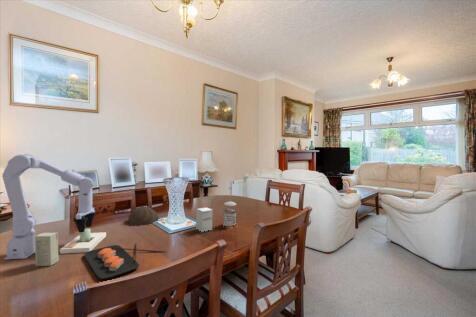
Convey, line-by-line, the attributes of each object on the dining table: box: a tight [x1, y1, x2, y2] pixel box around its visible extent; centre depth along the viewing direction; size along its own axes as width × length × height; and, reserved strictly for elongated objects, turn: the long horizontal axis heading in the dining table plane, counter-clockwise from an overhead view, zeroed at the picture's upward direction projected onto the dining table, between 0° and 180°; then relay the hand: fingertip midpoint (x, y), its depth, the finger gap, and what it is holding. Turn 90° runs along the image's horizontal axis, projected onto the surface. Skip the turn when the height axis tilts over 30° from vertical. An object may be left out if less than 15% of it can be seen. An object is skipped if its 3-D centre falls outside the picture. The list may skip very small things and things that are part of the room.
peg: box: [79, 228, 92, 242], centre depth 112 cm, size 4×4×7 cm
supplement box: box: [195, 207, 213, 233], centre depth 137 cm, size 7×7×13 cm
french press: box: [219, 186, 237, 226], centre depth 147 cm, size 10×12×25 cm
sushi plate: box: [84, 244, 166, 280], centre depth 101 cm, size 29×30×4 cm
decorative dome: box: [126, 206, 160, 227], centre depth 151 cm, size 19×20×10 cm
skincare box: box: [34, 232, 60, 267], centre depth 93 cm, size 6×4×12 cm
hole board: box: [59, 232, 107, 255], centre depth 112 cm, size 20×12×2 cm, turn 11°
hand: (85, 229), depth 112 cm, fingers open, 7 cm apart
